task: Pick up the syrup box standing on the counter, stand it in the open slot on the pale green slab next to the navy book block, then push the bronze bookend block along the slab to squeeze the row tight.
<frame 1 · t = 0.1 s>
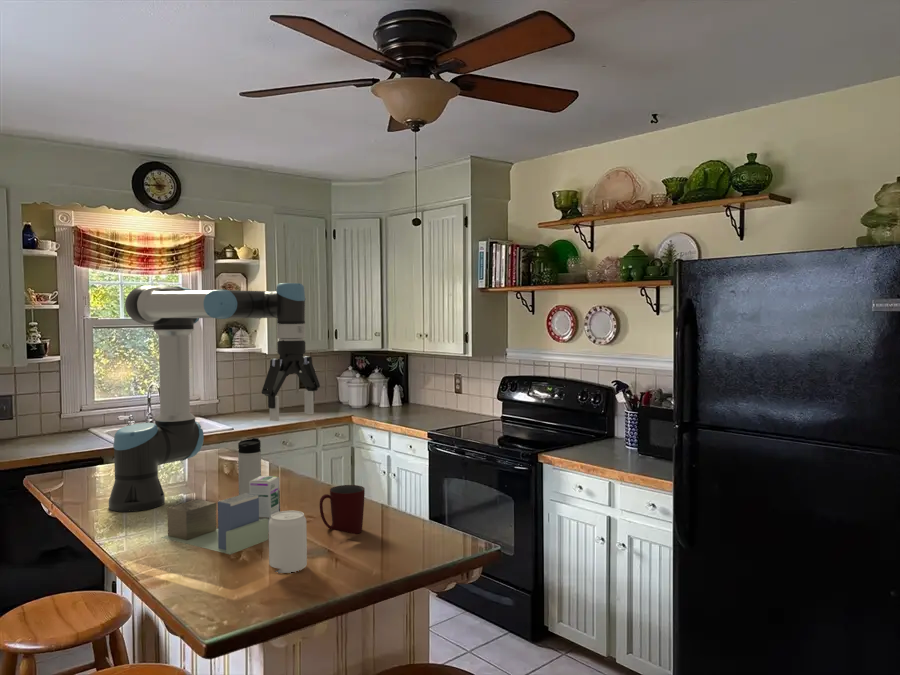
hand: (292, 417, 193), 28 cm above the table, fingers open, 13 cm apart
mug: (342, 533, 181), on the table
beverage can: (288, 569, 156), on the table
syrup box: (265, 535, 180), on the table
travel mug: (250, 509, 203), on the table
pale green slab: (214, 544, 172), on the table
book block: (239, 544, 168), point 1 cm above the table, touching pale green slab
bookend: (192, 519, 176), point 5 cm above the table, slide at 0.0 cm
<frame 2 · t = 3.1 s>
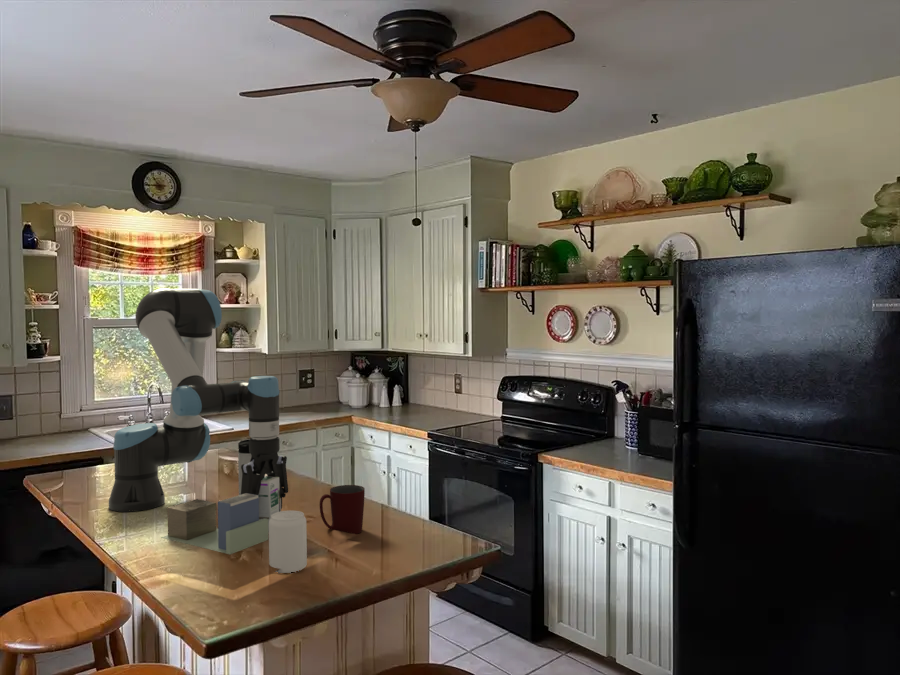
hand: (265, 526, 180), 2 cm above the table, fingers closed on syrup box, 7 cm apart
syrup box: (265, 535, 180), on the table, touching gripper
everything else where it was.
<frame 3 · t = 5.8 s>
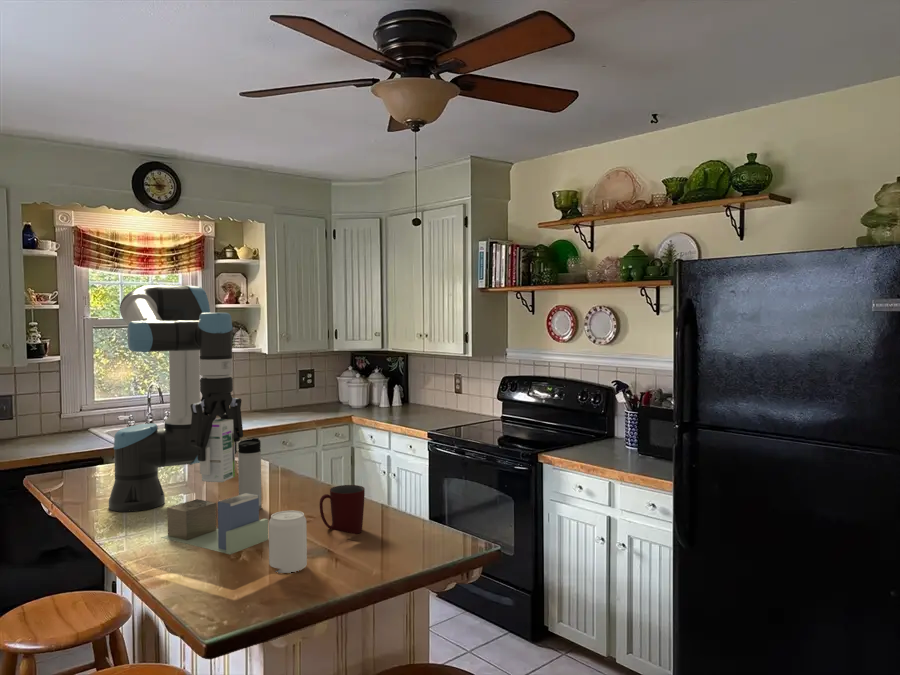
hand: (217, 470, 170), 18 cm above the table, fingers closed on syrup box, 7 cm apart
syrup box: (218, 480, 171), point 16 cm above the table, touching gripper
everything else where it was.
when the fingers open (5 cm above the table, at t = 8.5 s): syrup box drops 1 cm, resting on pale green slab.
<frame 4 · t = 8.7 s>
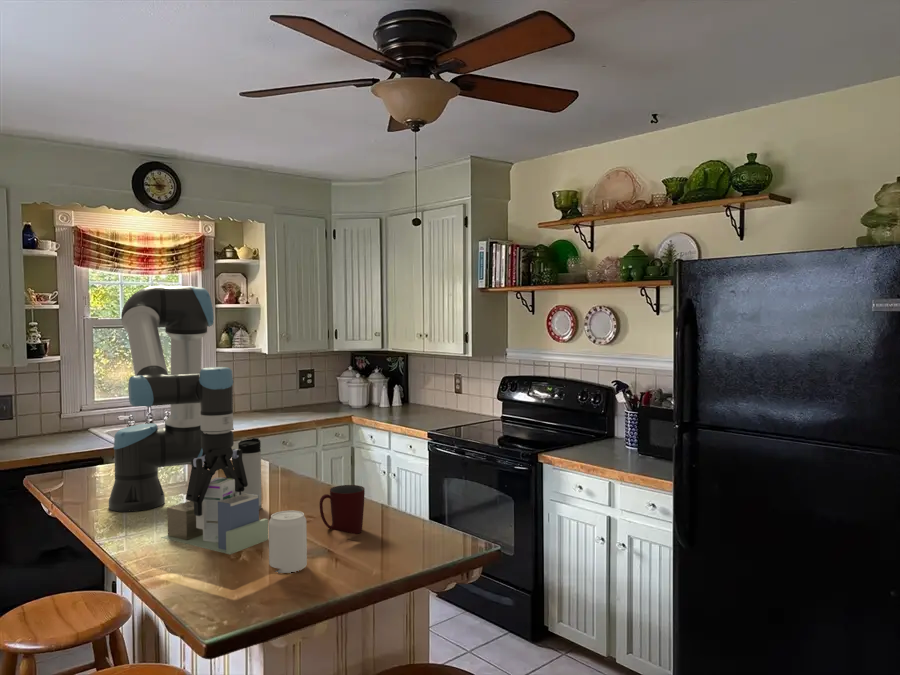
hand: (218, 522, 171), 6 cm above the table, fingers open, 9 cm apart
syrup box: (219, 539, 171), point 1 cm above the table, touching pale green slab
everything else where it was.
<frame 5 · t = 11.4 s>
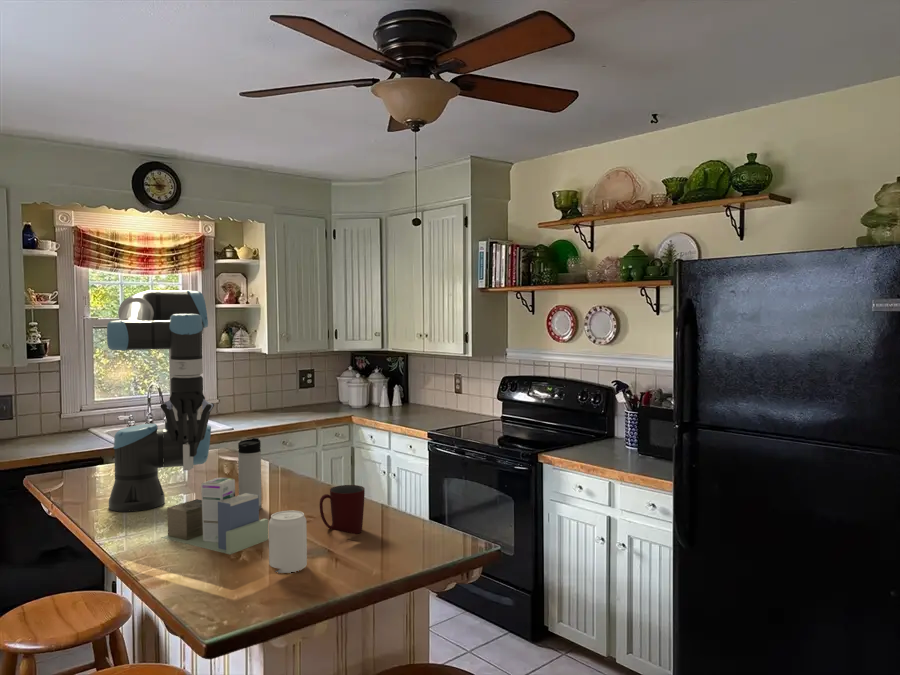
hand: (188, 468, 177), 17 cm above the table, fingers closed
nothing on the table moved.
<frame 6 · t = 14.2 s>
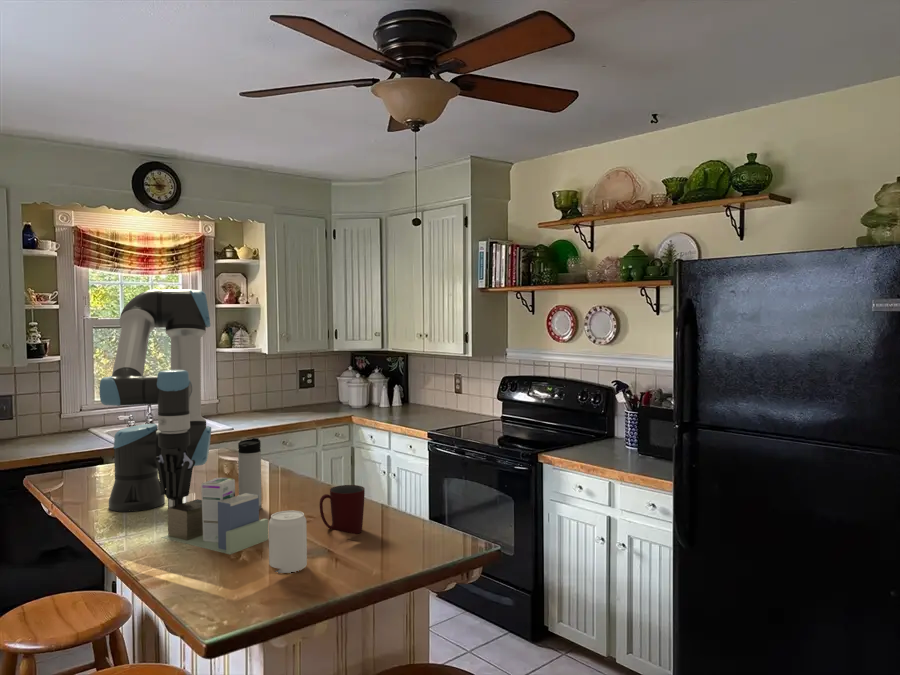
hand: (175, 523, 179), 3 cm above the table, fingers closed
bookend: (192, 519, 176), point 5 cm above the table, slide at 0.2 cm, touching gripper
everything else where it was.
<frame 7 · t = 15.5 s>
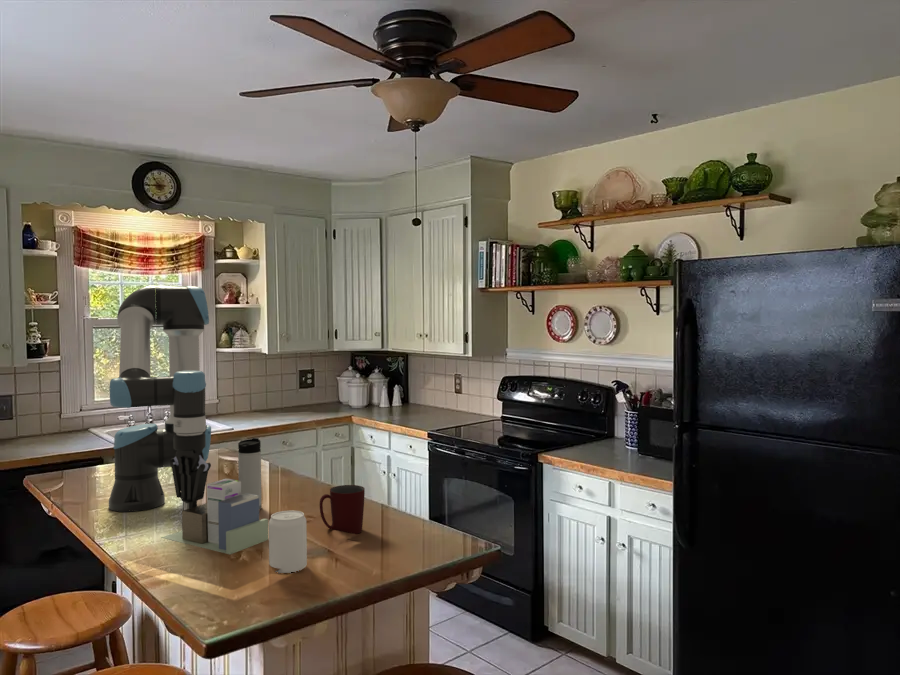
hand: (189, 526, 176), 3 cm above the table, fingers closed
syrup box: (224, 541, 170), point 1 cm above the table, touching book block, bookend, pale green slab
book block: (239, 544, 167), point 2 cm above the table, touching pale green slab, syrup box
bookend: (207, 522, 173), point 5 cm above the table, slide at 5.4 cm, touching gripper, syrup box
everything else where it was.
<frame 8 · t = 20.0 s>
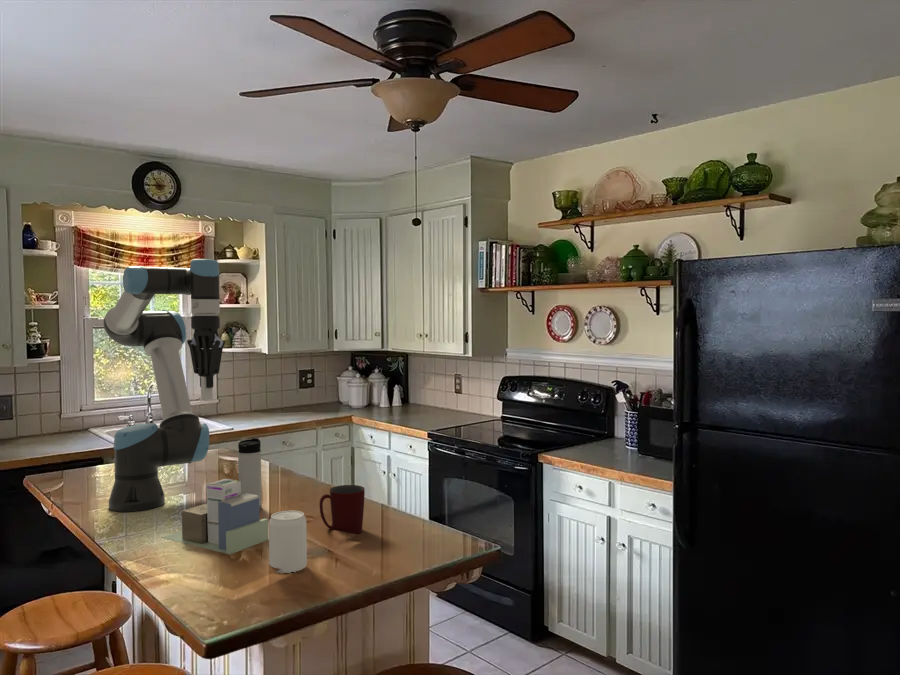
hand: (206, 399, 197), 32 cm above the table, fingers closed
syrup box: (224, 541, 170), point 1 cm above the table, touching pale green slab
book block: (239, 544, 167), point 1 cm above the table, touching pale green slab
bookend: (206, 522, 173), point 5 cm above the table, slide at 5.4 cm
everything else where it was.
at the end: syrup box inside the target area on the pale green slab (0.1 cm from its centre), point 1.3 cm above the pale green slab's base; syrup box tilted 0°; bookend slide at 5.4 cm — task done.
